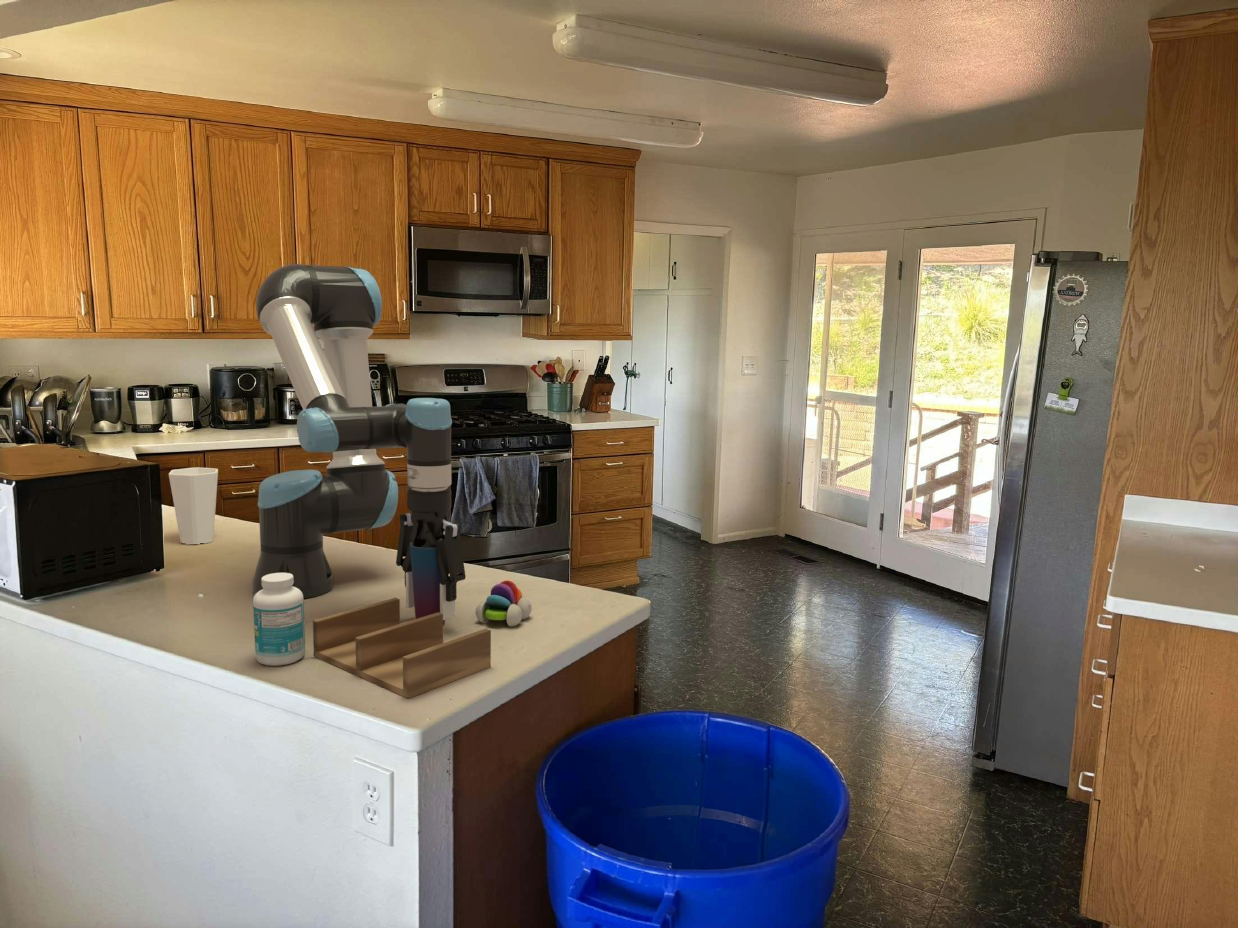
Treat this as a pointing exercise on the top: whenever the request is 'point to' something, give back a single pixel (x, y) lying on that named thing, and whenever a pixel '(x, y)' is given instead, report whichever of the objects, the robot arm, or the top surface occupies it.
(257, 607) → the pill bottle
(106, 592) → the top surface
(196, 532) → the cup
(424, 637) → the rack
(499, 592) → the rainbow disc stack
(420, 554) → the cup
